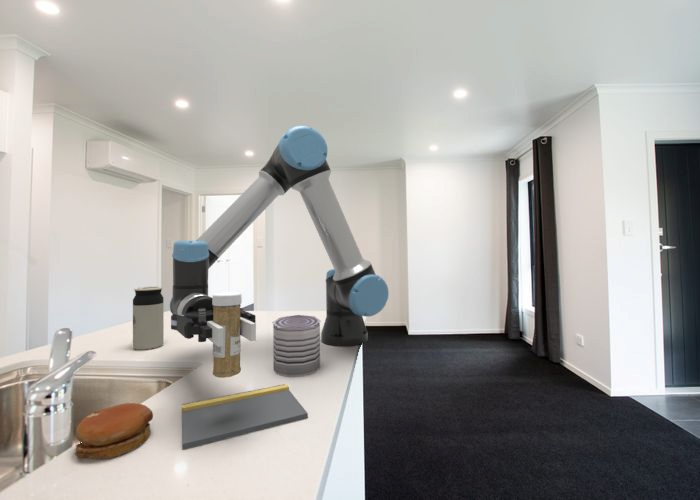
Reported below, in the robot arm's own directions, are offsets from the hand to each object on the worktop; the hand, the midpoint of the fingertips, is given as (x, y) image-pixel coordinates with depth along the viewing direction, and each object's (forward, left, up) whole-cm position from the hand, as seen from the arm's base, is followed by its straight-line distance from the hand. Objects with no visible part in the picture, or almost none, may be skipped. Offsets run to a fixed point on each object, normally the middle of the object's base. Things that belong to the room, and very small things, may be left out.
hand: (237, 334), depth 50 cm
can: (-17, -24, -16) cm, 34 cm away
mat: (-2, -7, -16) cm, 17 cm away
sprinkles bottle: (+1, -5, -8) cm, 9 cm away
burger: (+17, -7, -16) cm, 24 cm away
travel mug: (+17, -64, -16) cm, 68 cm away
